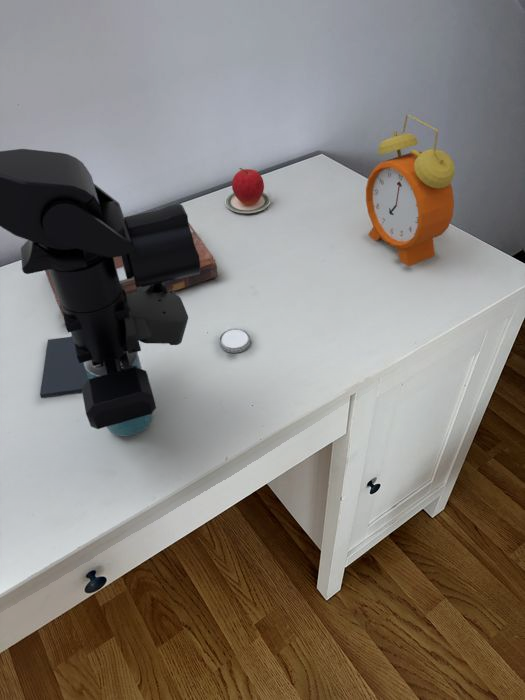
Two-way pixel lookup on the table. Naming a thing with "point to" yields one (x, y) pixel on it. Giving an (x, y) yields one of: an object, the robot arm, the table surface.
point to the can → (127, 426)
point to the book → (206, 272)
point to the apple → (247, 193)
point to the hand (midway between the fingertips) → (123, 400)
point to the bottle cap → (234, 340)
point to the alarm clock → (410, 197)
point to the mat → (62, 369)
